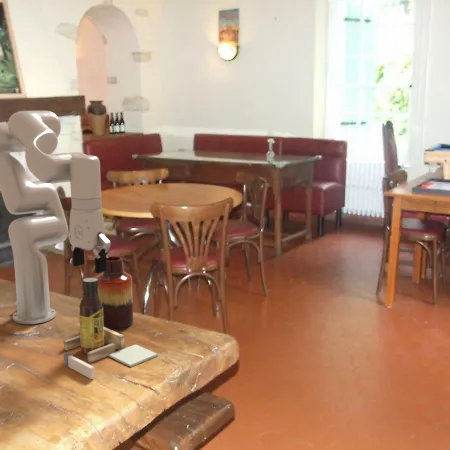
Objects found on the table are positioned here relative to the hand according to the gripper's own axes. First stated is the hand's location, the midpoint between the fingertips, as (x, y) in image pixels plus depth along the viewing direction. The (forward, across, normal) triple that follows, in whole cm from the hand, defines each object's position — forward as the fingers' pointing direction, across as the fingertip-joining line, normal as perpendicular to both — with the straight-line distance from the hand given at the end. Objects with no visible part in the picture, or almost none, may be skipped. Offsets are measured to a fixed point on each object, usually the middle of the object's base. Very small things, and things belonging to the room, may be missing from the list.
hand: (89, 268), depth 156 cm
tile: (+23, +10, +5) cm, 26 cm away
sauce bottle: (+23, 0, 0) cm, 23 cm away
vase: (+23, -12, +16) cm, 30 cm away
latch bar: (+23, +8, -10) cm, 26 cm away
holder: (+23, 0, 0) cm, 23 cm away
